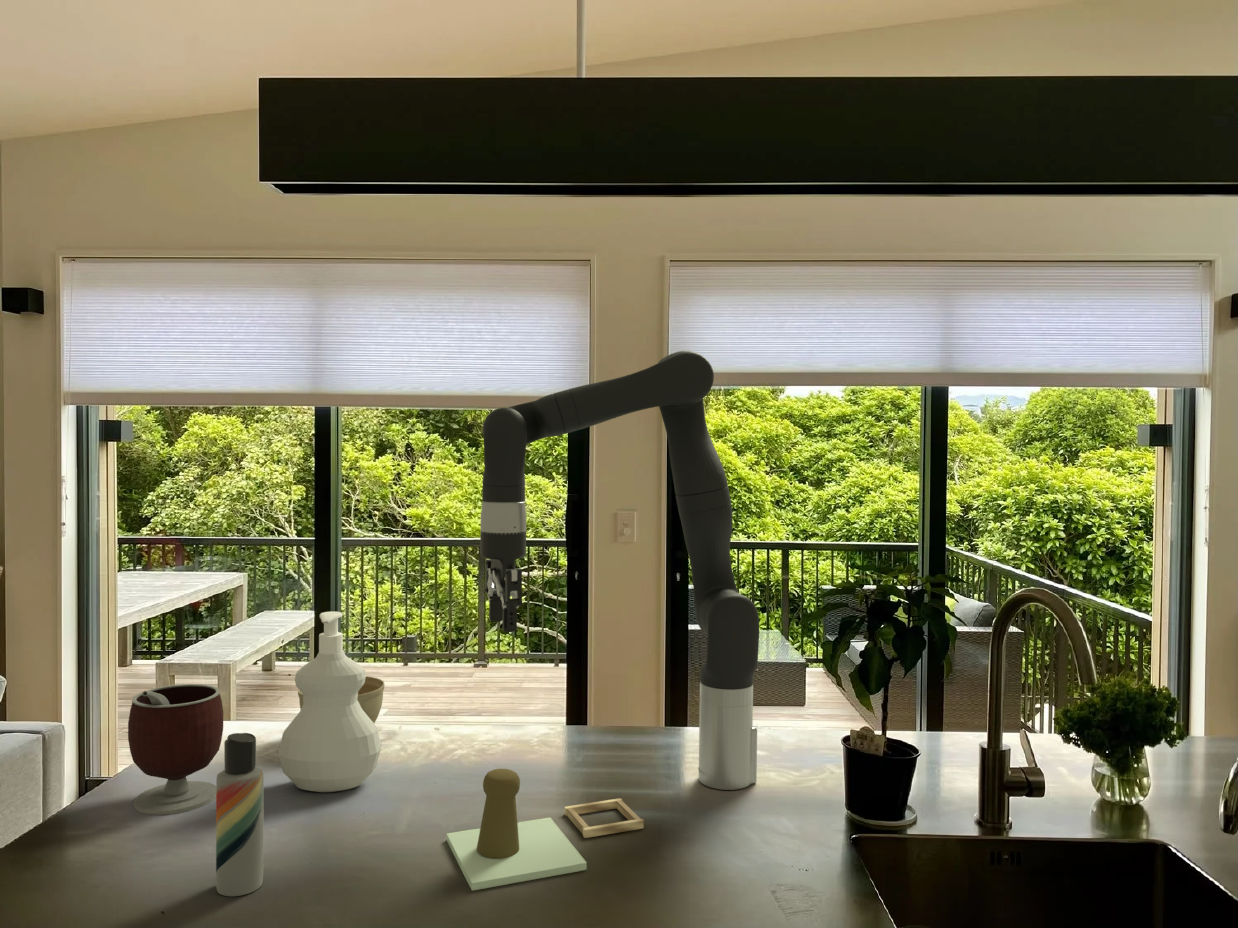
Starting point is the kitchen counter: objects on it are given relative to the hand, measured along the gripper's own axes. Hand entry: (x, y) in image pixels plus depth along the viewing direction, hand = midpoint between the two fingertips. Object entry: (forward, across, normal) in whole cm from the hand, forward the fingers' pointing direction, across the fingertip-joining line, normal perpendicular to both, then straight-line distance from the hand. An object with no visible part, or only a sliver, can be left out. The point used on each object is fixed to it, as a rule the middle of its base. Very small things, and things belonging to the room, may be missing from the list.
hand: (502, 626), depth 149 cm
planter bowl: (+28, +37, +22) cm, 52 cm away
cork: (+27, -22, +6) cm, 35 cm away
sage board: (+28, -22, +4) cm, 36 cm away
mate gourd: (+28, +16, +50) cm, 60 cm away
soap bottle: (+28, +14, +26) cm, 41 cm away
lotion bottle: (+28, -18, +40) cm, 52 cm away
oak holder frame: (+28, -16, -12) cm, 34 cm away
